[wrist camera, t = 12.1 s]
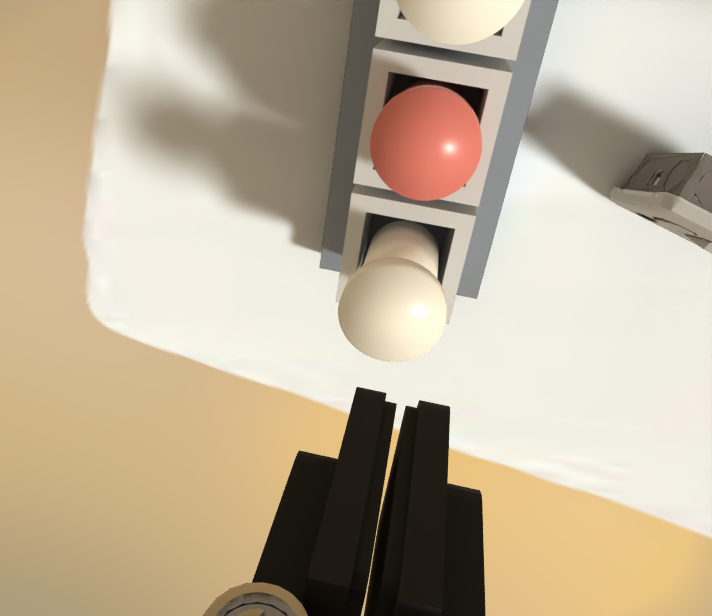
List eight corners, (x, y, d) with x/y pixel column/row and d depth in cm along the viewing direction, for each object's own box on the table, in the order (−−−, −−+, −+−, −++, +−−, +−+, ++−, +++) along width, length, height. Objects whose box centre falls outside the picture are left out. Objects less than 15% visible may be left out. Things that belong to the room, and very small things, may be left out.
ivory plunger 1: (457, 220, 38) (457, 278, 31) (438, 300, 41) (433, 371, 34) (366, 203, 38) (345, 257, 31) (353, 284, 41) (331, 350, 34)
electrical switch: (601, 195, 44) (644, 233, 36) (646, 127, 42) (702, 150, 34) (714, 252, 45) (782, 302, 37) (763, 188, 43) (847, 226, 35)
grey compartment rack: (582, -113, 36) (619, -136, 28) (475, 284, 49) (479, 348, 41) (378, -145, 37) (355, -178, 29) (325, 254, 50) (298, 311, 41)
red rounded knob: (487, 74, 37) (494, 100, 30) (466, 166, 40) (467, 209, 33) (394, 58, 37) (379, 79, 30) (379, 150, 40) (362, 189, 33)
